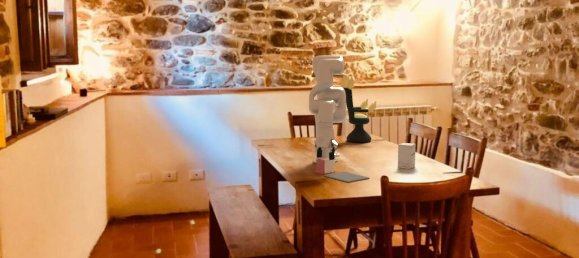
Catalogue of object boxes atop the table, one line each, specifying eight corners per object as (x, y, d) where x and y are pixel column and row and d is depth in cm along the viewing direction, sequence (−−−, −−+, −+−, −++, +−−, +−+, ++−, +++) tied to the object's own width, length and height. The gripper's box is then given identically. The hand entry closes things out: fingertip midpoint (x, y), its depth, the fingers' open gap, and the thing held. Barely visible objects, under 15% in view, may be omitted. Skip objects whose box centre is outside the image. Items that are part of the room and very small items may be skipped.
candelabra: (376, 142, 407) (377, 74, 401) (344, 144, 402) (345, 75, 396) (366, 138, 425) (367, 73, 419) (336, 139, 420) (336, 73, 414)
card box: (328, 170, 320) (328, 157, 319) (334, 171, 317) (334, 158, 316) (316, 172, 316) (316, 159, 315) (322, 174, 312) (322, 160, 311)
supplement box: (410, 169, 323) (411, 145, 321) (397, 167, 326) (397, 144, 325) (415, 166, 329) (416, 143, 327) (402, 165, 333) (402, 142, 331)
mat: (344, 172, 315) (344, 171, 315) (369, 178, 300) (369, 177, 300) (323, 176, 306) (323, 175, 306) (348, 182, 292) (348, 181, 292)
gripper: (309, 124, 317) (309, 157, 319) (331, 127, 303) (330, 161, 305) (320, 123, 322) (320, 155, 324) (342, 126, 308) (342, 160, 310)
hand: (325, 158), depth 314 cm, fingers open, 9 cm apart
